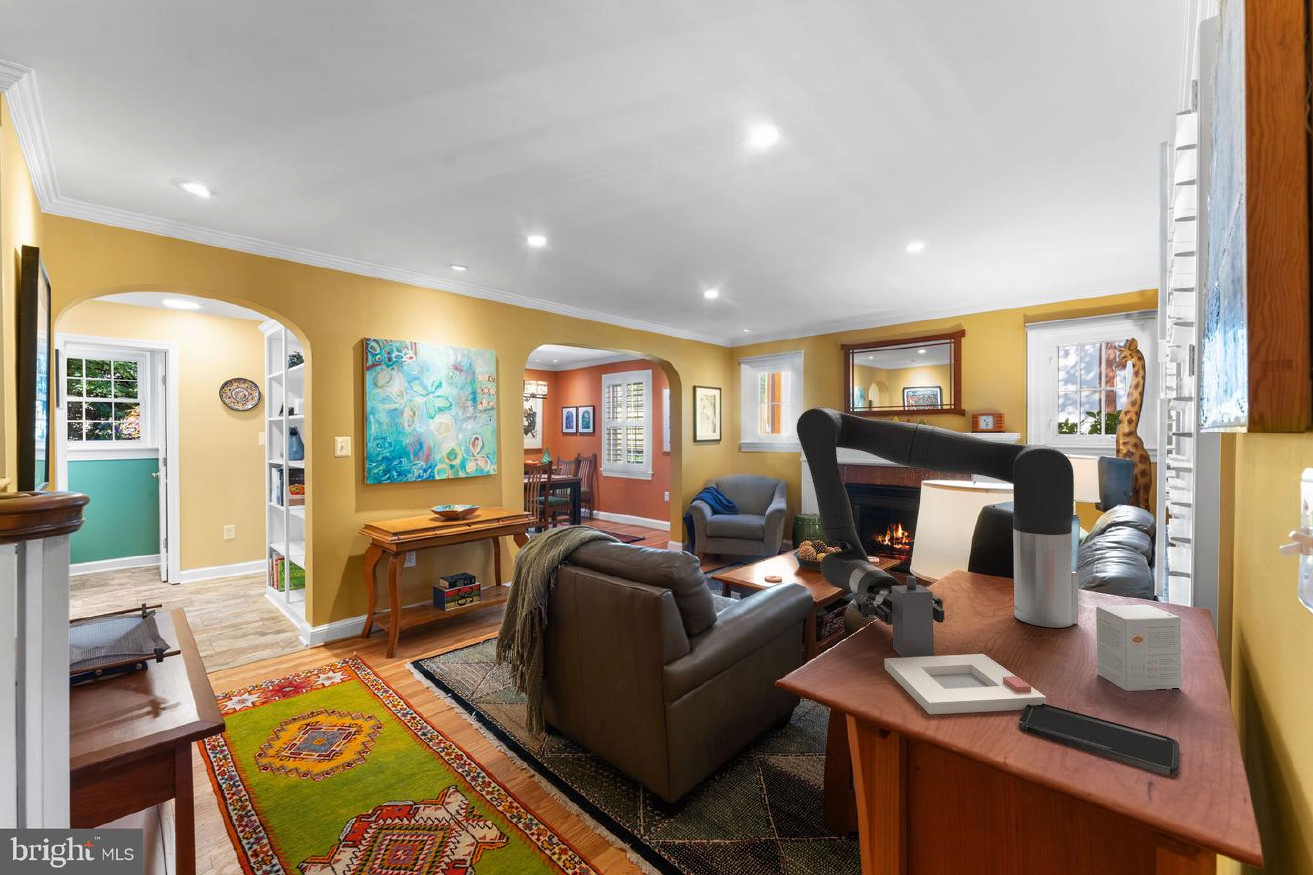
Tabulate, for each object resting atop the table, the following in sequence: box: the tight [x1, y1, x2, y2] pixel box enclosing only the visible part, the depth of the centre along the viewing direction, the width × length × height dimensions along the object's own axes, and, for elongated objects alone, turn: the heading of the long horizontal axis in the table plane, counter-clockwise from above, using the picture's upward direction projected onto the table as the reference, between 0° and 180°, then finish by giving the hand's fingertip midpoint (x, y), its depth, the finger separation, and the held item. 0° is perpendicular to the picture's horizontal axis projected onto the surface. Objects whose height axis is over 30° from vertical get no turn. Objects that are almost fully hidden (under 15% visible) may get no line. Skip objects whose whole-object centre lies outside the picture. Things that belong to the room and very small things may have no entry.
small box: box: [1095, 604, 1182, 692], centre depth 82 cm, size 8×6×10 cm
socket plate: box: [883, 653, 1047, 715], centre depth 83 cm, size 16×14×2 cm
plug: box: [891, 575, 935, 658], centre depth 95 cm, size 5×4×13 cm
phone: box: [1018, 703, 1180, 776], centre depth 69 cm, size 8×1×15 cm
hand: (916, 617), depth 93 cm, fingers open, 8 cm apart
